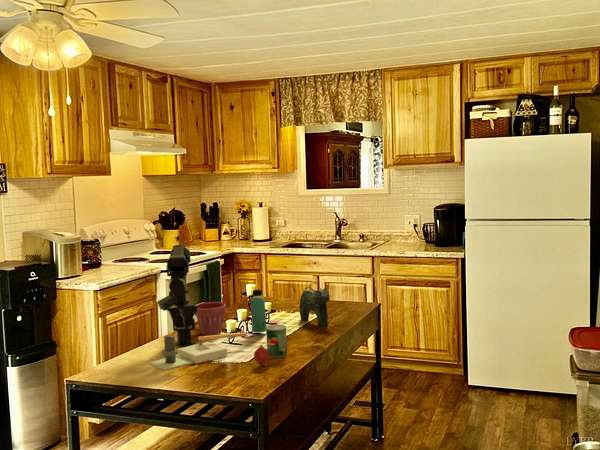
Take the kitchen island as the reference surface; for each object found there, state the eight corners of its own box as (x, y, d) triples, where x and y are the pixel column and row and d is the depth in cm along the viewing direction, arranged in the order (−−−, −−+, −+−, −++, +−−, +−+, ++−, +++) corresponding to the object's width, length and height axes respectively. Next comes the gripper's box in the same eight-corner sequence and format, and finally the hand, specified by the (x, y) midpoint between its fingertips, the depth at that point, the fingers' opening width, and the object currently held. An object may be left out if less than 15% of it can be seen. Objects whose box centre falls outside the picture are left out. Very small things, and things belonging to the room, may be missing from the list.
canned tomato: (290, 352, 260) (289, 325, 259) (283, 358, 253) (282, 330, 252) (271, 351, 263) (270, 324, 262) (264, 356, 255) (262, 329, 254)
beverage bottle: (264, 336, 287) (262, 291, 286) (250, 335, 289) (248, 291, 287) (268, 332, 294) (266, 288, 292) (254, 332, 295) (252, 288, 293)
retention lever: (198, 340, 264) (198, 337, 264) (198, 339, 266) (197, 336, 266) (247, 336, 269) (247, 333, 269) (246, 334, 271) (246, 332, 271)
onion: (254, 364, 246) (253, 343, 245) (269, 363, 246) (268, 342, 246) (254, 368, 240) (253, 347, 240) (270, 367, 241) (269, 346, 240)
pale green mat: (149, 363, 252) (149, 362, 252) (177, 357, 259) (177, 355, 259) (163, 370, 242) (163, 368, 242) (192, 363, 250) (192, 361, 250)
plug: (159, 361, 251) (158, 336, 250) (174, 358, 255) (172, 333, 254) (167, 365, 247) (166, 339, 246) (181, 361, 250) (180, 336, 250)
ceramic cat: (332, 325, 302) (330, 282, 300) (320, 328, 298) (319, 284, 297) (307, 318, 318) (305, 277, 317) (296, 320, 315) (294, 279, 313)
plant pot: (206, 338, 287) (205, 309, 286) (189, 333, 297) (187, 305, 296) (233, 332, 296) (231, 304, 295) (215, 327, 307) (214, 300, 305)
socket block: (178, 356, 261) (177, 344, 260) (208, 349, 269) (208, 338, 269) (195, 363, 250) (195, 351, 249) (227, 355, 258) (226, 344, 258)
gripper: (149, 288, 260) (151, 326, 262) (170, 295, 245) (173, 335, 247) (174, 284, 267) (176, 321, 268) (197, 290, 252) (199, 330, 254)
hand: (180, 327), depth 259 cm, fingers open, 9 cm apart
